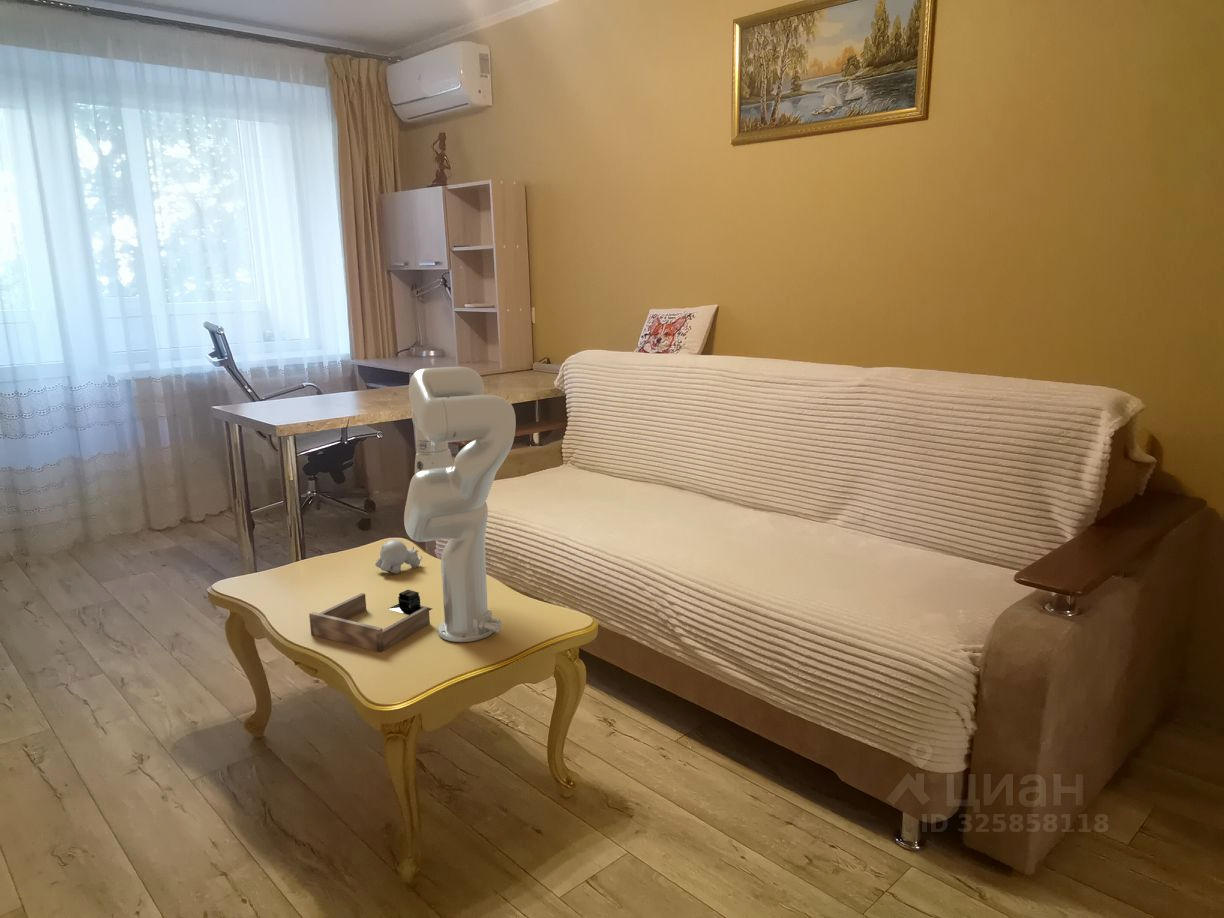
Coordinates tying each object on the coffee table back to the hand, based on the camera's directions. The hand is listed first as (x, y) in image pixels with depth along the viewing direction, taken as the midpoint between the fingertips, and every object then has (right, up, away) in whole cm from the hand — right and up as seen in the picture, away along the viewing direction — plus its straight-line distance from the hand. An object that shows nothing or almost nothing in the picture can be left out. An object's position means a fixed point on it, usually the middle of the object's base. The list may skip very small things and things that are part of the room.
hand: (436, 517), depth 197 cm
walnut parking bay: (-11, -24, -17) cm, 31 cm away
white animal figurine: (-14, -16, +20) cm, 29 cm away
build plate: (-5, -22, -6) cm, 23 cm away
